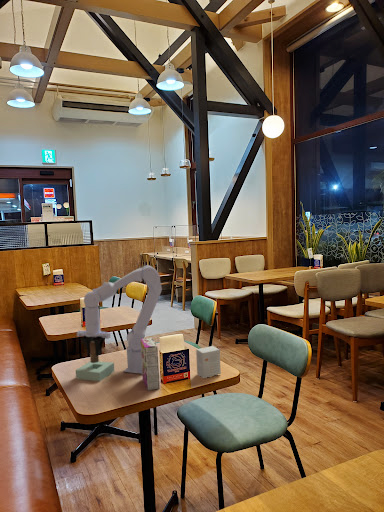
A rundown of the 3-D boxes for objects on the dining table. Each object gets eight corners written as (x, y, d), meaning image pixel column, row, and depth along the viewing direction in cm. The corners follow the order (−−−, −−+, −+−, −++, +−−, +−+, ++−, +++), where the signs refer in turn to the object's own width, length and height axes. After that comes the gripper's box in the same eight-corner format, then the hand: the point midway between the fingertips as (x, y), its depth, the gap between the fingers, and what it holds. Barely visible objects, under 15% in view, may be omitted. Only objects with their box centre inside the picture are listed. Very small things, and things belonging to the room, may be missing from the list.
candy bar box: (141, 379, 148) (139, 338, 147) (154, 377, 150) (152, 337, 148) (146, 391, 138) (144, 347, 136) (160, 389, 139) (158, 345, 138)
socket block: (114, 370, 158) (113, 362, 158) (100, 381, 148) (99, 372, 148) (91, 368, 162) (91, 360, 161) (76, 378, 151) (75, 370, 151)
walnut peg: (100, 360, 155) (99, 341, 155) (96, 363, 152) (95, 343, 152) (93, 359, 156) (92, 340, 155) (89, 362, 153) (88, 343, 152)
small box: (214, 370, 155) (213, 345, 154) (221, 375, 150) (220, 349, 149) (196, 374, 151) (195, 348, 151) (203, 379, 146) (202, 352, 146)
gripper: (71, 323, 151) (73, 356, 153) (103, 325, 147) (104, 359, 148) (81, 318, 158) (83, 350, 159) (112, 320, 154) (114, 353, 155)
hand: (94, 354), depth 154 cm, fingers closed on walnut peg, 3 cm apart
